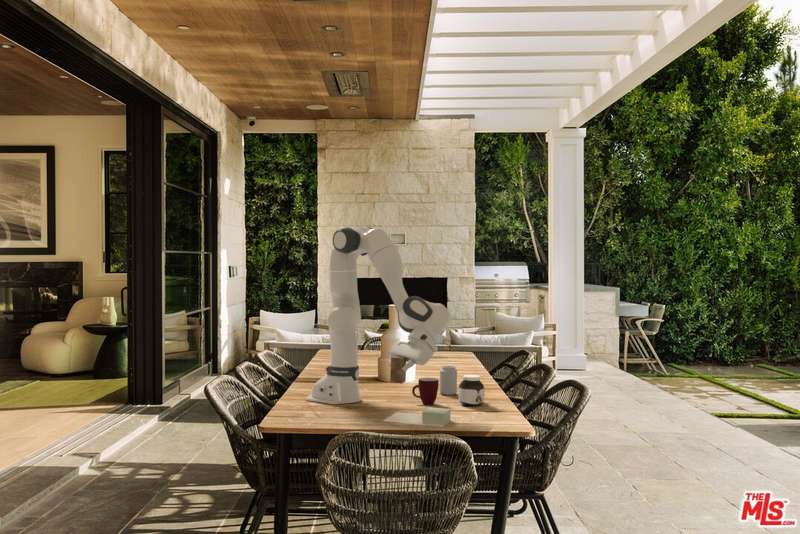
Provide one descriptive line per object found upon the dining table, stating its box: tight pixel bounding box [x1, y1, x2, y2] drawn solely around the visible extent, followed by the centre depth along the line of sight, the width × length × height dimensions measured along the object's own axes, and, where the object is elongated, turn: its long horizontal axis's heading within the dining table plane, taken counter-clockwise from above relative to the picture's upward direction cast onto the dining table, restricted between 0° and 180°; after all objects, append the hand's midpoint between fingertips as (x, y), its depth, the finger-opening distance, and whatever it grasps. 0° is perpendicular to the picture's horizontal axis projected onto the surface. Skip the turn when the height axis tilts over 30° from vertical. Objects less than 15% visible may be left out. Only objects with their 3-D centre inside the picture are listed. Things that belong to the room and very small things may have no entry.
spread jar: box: [457, 374, 486, 408], centre depth 277 cm, size 12×11×12 cm
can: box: [439, 365, 458, 396], centre depth 296 cm, size 8×8×12 cm
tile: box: [382, 411, 454, 428], centre depth 244 cm, size 22×15×1 cm
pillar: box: [389, 356, 407, 385], centre depth 248 cm, size 4×4×9 cm
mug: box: [411, 377, 440, 406], centre depth 275 cm, size 10×8×10 cm
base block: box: [421, 407, 451, 426], centre depth 240 cm, size 8×8×4 cm
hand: (396, 368), depth 247 cm, fingers closed on pillar, 6 cm apart
